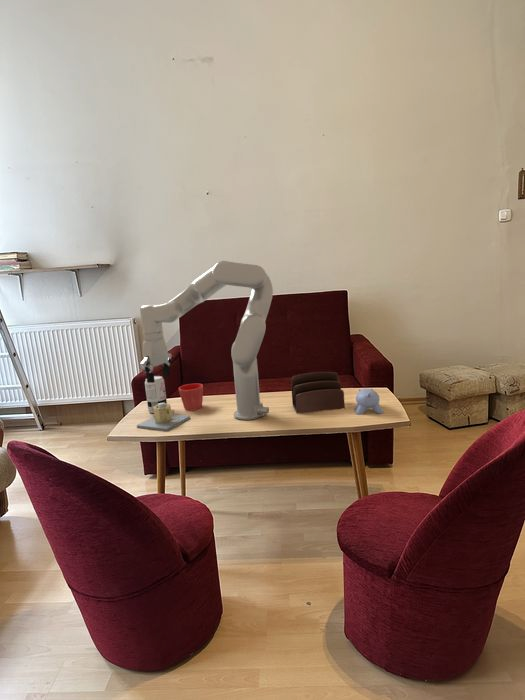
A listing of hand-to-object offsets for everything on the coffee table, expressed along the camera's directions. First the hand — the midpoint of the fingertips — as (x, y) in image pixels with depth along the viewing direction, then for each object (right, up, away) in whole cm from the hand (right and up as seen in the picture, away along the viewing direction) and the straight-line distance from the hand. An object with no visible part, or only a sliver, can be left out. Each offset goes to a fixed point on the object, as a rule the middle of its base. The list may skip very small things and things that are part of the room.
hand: (159, 379), depth 178 cm
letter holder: (+64, -12, +7) cm, 65 cm away
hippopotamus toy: (+82, -12, -1) cm, 83 cm away
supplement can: (-5, -16, +20) cm, 26 cm away
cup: (+2, -17, +3) cm, 17 cm away
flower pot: (+10, -14, +21) cm, 27 cm away
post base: (+1, -18, +3) cm, 18 cm away
